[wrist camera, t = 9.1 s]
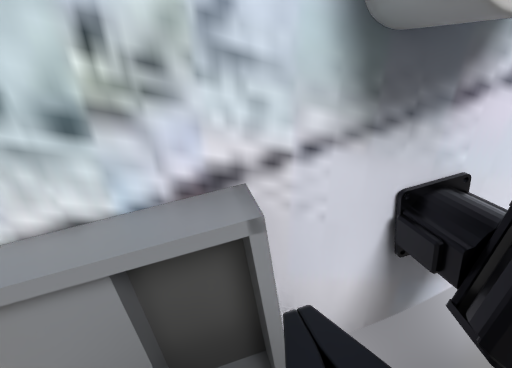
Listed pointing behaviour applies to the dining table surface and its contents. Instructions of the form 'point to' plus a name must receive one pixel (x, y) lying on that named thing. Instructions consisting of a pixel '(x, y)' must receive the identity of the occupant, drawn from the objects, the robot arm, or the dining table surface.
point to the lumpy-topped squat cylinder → (436, 12)
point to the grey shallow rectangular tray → (146, 290)
